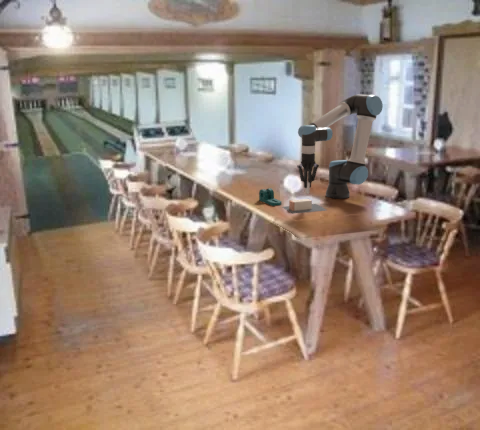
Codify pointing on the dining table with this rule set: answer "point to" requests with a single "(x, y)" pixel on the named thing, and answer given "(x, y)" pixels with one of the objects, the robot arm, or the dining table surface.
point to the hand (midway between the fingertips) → (307, 193)
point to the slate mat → (314, 208)
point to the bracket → (268, 197)
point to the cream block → (300, 204)
